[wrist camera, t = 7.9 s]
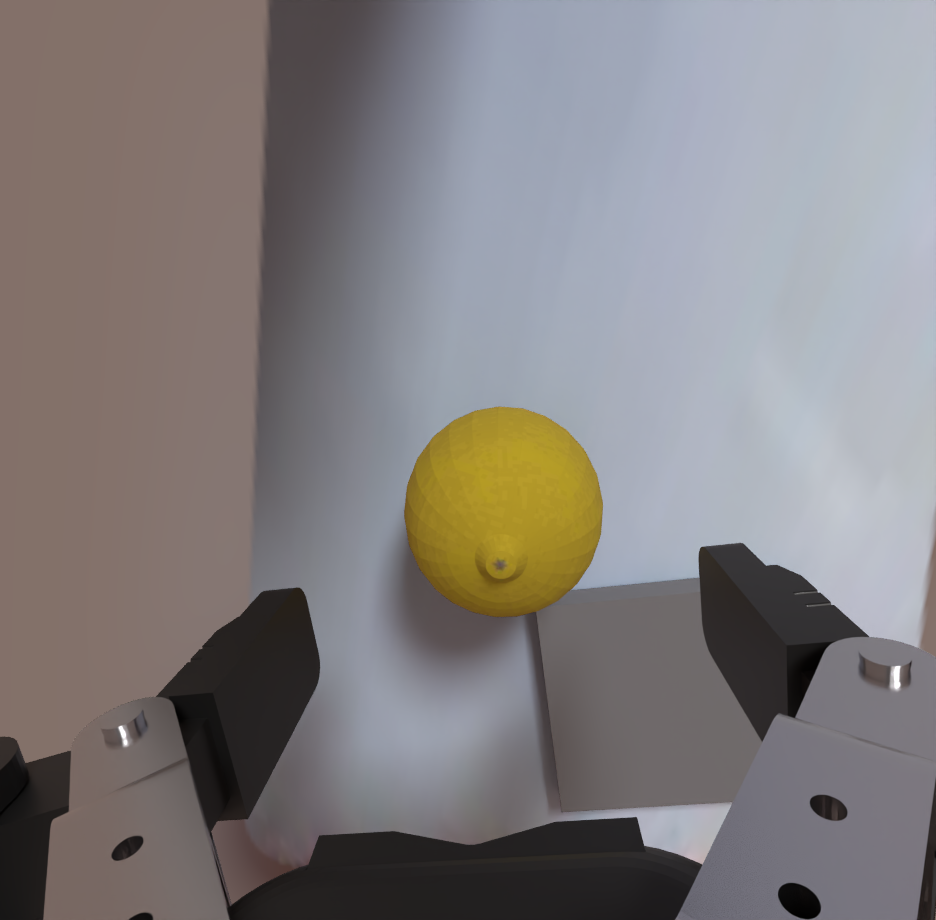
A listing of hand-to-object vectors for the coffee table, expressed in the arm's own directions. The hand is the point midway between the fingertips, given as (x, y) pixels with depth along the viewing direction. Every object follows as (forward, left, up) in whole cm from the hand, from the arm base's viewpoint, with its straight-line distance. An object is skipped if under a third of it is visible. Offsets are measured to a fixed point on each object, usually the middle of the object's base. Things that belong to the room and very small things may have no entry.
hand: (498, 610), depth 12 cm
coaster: (+9, +5, -9) cm, 14 cm away
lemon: (0, 0, -9) cm, 9 cm away
